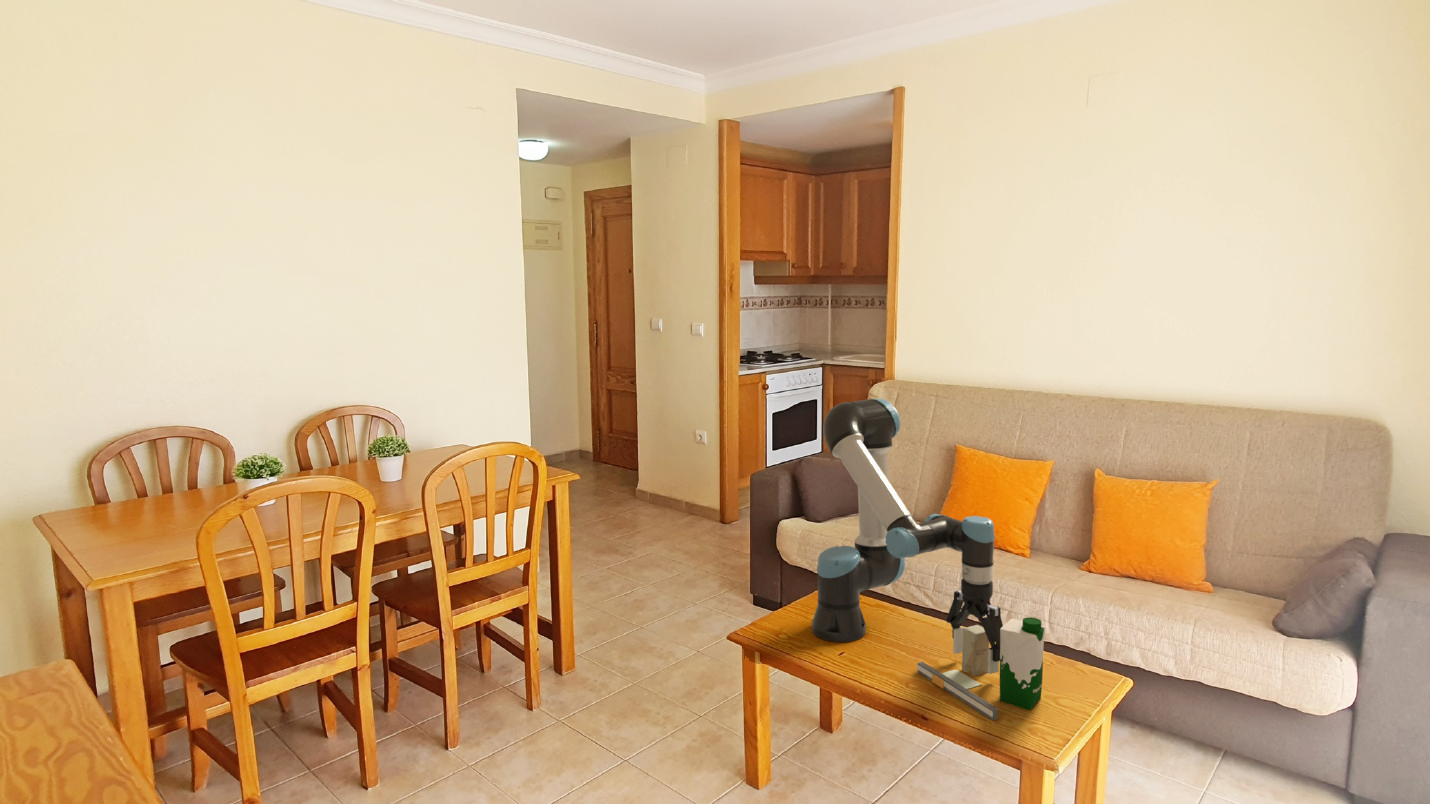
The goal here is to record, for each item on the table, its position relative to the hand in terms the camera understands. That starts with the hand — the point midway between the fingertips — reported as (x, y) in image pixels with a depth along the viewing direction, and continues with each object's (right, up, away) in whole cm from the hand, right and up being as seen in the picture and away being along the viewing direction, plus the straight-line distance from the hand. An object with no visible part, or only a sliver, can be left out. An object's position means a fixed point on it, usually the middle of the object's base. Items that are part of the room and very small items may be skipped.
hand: (975, 662), depth 206 cm
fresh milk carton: (+6, -4, -14) cm, 16 cm away
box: (0, -2, 0) cm, 2 cm away
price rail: (-8, -4, -11) cm, 15 cm away
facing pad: (-6, -3, -5) cm, 8 cm away
